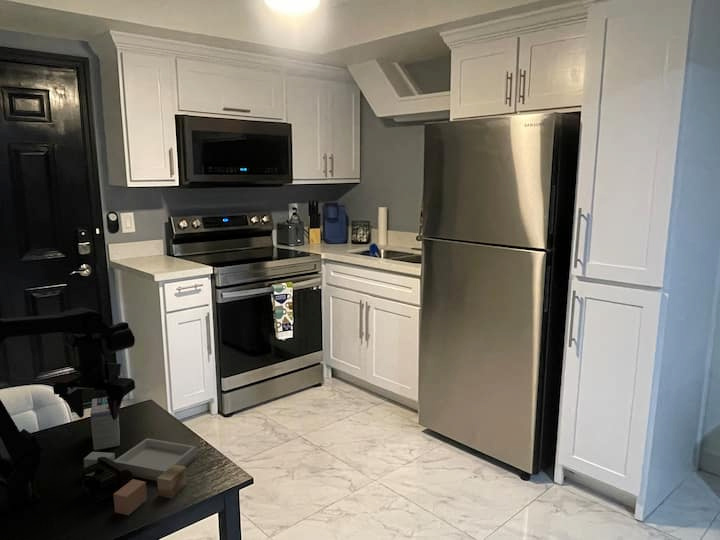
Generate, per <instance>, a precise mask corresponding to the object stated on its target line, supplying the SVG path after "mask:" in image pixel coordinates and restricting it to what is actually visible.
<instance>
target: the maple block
mask: <svg viewBox="0 0 720 540" xmlns="http://www.w3.org/2000/svg"><path fill="white" fill-rule="evenodd" d="M187 473H188V471H187V466H186V467H184V466H178V465H173V466H171V467H170V468H169V469H168V470H166V471H165V472H164V473H163V474H162V475H160V476H159V477H158V478H157V481H156V482H157V483H156V484H157V492H158V493H157V494H158V496H159V497H164V498H169V499H172V498H174V497H175V495H177V494H178V493H179V492H180V491H181V490H182V489H184V488H185V487H186V486H187V485H188V476H187V475H188V474H187Z"/></svg>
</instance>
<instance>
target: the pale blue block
mask: <svg viewBox="0 0 720 540" xmlns="http://www.w3.org/2000/svg"><path fill="white" fill-rule="evenodd" d="M99 457H107V458H109V459H110V460H112V461H114V460H116V454H115V452H106V451H105V452H101V451H91V452H90V453H89V454H88V455H87V456H85V457H84V458H83V468H86V467H88V466H90V465H92V464H95V463H97V462H98V461H97V458H99ZM94 474H95V471H94V472H92V473H90V474H86V475H85V476H89V477H91V476H93V475H94Z"/></svg>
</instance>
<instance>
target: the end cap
mask: <svg viewBox="0 0 720 540" xmlns="http://www.w3.org/2000/svg"><path fill="white" fill-rule="evenodd" d="M97 461H98V462H97V463H95V464H92V465H90V466H88V467H86V468H84V467H83V468H82V469H81V476H86V474H90V473H92V472H94V471H95V474H94V475H93V476H89V477H87V478H85V479H83V480H82V486H83V489H84V493H85V494H86V495H88V496H89V497H90V498H92V499H93V500H95V501H97V503H99V504H100V505H102V506H107V505H108V504H110V503H112V502H113V503H114V495H113V494H114V493H116V492H117V491H118V490H119V489H121V488H122V487H123V486H125V485H126V484H127V483H129V482H130V481H131V480H133V479H134V476H133V474H132V472H131V471H129V470H128V469H126V468H124V467H123V466H121V465H119V464H117V463H116V462H114V461H112V460H110V459H109V458H107V457H99V458H97Z"/></svg>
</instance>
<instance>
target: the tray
mask: <svg viewBox="0 0 720 540" xmlns="http://www.w3.org/2000/svg"><path fill="white" fill-rule="evenodd" d="M197 451H198V450H197V446H195V445H190V444H184V443H177V442H172V441H166V440H161V439H160V440H159V439H153V438H145V439H144V440H142V441H141V442H140V443H138V444H137V445H134V447H132V448H131V449H129V450H128V451H126V452H124V453H123V454H122V455H120V456H119V457H117V458H115V460H114V462H116V463H117V464H119V465H121V466H123V467H124V468H126V469H128V470H129V471H131V472H132V474H133V478H140V479H145V480H149V481H154V482H157V478H158V477H159V476H160V475H162V474H163V473H164V472H165V471H166V470H168V469H169V468H170V467H171V466H173V465H178V466H184V467H186V468H187V467H188V466H189V464H190V463H192V462H193V461H195V460H196V459H197V457H198V455H197V454H198V453H197Z"/></svg>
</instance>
